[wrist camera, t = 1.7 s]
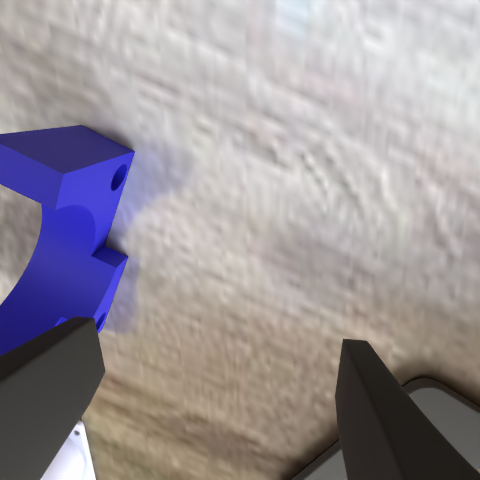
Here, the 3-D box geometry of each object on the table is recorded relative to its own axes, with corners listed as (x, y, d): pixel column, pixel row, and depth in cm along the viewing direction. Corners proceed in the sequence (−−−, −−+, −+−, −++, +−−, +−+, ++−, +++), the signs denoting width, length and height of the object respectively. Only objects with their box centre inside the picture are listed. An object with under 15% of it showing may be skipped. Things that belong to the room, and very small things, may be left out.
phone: (276, 499, 25) (425, 379, 19) (277, 487, 26) (419, 368, 20) (358, 543, 26) (525, 441, 20) (356, 531, 27) (517, 428, 21)
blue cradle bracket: (102, 329, 22) (40, 403, 17) (39, 299, 22) (-45, 365, 17) (161, 164, 18) (102, 193, 12) (81, 124, 17) (-16, 135, 12)
